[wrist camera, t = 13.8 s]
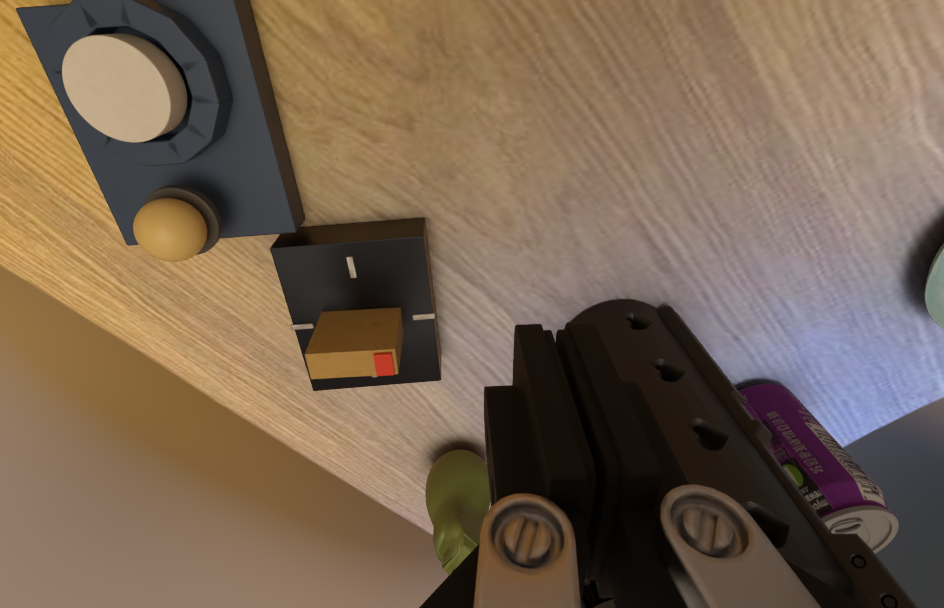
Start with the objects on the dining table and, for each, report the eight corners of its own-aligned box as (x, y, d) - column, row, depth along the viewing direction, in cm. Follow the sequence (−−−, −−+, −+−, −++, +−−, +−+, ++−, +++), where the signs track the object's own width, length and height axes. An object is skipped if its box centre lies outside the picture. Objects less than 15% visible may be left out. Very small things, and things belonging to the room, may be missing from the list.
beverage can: (701, 392, 40) (790, 523, 30) (789, 366, 39) (912, 492, 29) (710, 448, 44) (792, 582, 33) (790, 425, 43) (901, 555, 32)
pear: (415, 457, 42) (408, 570, 34) (461, 426, 41) (466, 537, 32) (457, 487, 45) (461, 600, 36) (502, 459, 43) (517, 571, 34)
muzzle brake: (636, 263, 33) (526, 352, 37) (1127, 899, 9) (681, 981, 13) (708, 339, 37) (601, 413, 41) (1188, 930, 13) (830, 987, 17)
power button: (68, 37, 22) (40, 38, 20) (166, 29, 22) (146, 31, 20) (112, 137, 24) (90, 146, 22) (201, 131, 24) (185, 139, 23)
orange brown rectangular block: (326, 334, 31) (309, 382, 27) (321, 311, 30) (303, 357, 26) (403, 330, 32) (398, 377, 28) (400, 307, 31) (394, 351, 27)
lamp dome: (135, 186, 25) (97, 208, 22) (209, 181, 25) (180, 201, 22) (163, 253, 27) (132, 280, 24) (232, 248, 27) (208, 274, 24)
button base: (45, 4, 24) (-20, 3, 21) (247, -10, 24) (215, -14, 21) (146, 231, 30) (109, 259, 27) (305, 219, 30) (288, 245, 27)
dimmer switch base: (282, 228, 31) (267, 249, 28) (426, 217, 31) (425, 237, 28) (321, 364, 36) (311, 392, 34) (442, 354, 37) (442, 382, 34)
